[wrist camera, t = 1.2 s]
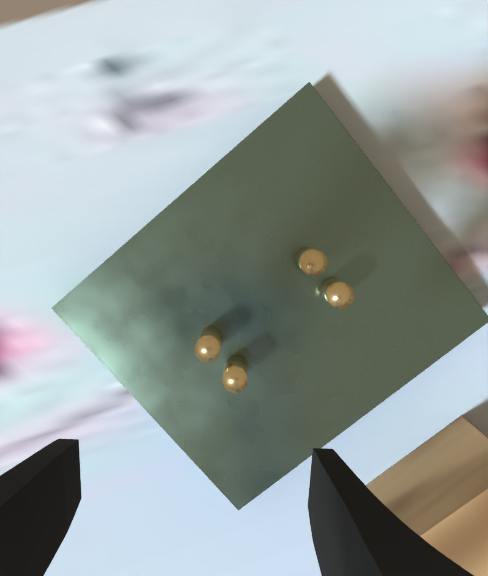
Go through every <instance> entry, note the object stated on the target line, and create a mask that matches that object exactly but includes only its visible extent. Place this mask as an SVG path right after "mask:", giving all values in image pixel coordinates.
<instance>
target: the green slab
mask: <svg viewBox="0 0 488 576" xmlns="http://www.w3.org/2000/svg"><path fill="white" fill-rule="evenodd" d="M52 309H53V310H54V312H55V313H56V314H57V315H58V316H59V317H60V318H61V319H62V320H63V321H64V322H65V323H66V324H67V326H68V327H69V328H70V329H71V330H72V331H73V332H74V333H75V334H76V335H77V336H78V337H79V339H80V340H81V341H82V342H83V343H84V344H85V345H86V346H87V347H88V348H89V349H90V350H91V351H92V353H93V354H94V355H95V356H96V357H97V358H98V359H99V360H100V361H101V362H102V363H103V364H104V366H105V367H106V368H107V369H108V370H109V371H110V372H111V373H112V374H113V375H114V376H115V377H116V378H117V380H118V381H119V382H120V383H121V384H122V385H123V386H124V387H125V388H126V389H127V390H128V391H129V393H130V394H131V395H132V396H133V397H134V398H135V399H136V400H137V401H138V402H139V403H140V404H141V406H142V407H143V408H144V409H145V410H146V411H147V412H148V413H149V414H150V415H151V416H152V417H153V418H154V420H155V421H156V422H157V423H158V424H159V425H160V426H161V427H162V428H163V429H164V430H165V431H166V433H167V434H168V435H169V436H170V437H171V438H172V439H173V440H174V441H175V442H176V443H177V444H178V445H179V447H180V448H181V449H182V450H183V451H184V452H185V453H186V454H187V455H188V456H189V457H190V458H191V460H192V461H193V462H194V463H195V464H196V465H197V466H198V467H199V468H200V469H201V470H202V471H203V472H204V474H205V475H206V476H207V477H208V478H209V479H210V480H211V481H212V482H213V483H214V484H215V485H216V487H217V488H218V489H219V490H220V491H221V492H222V493H223V494H224V495H225V496H226V497H227V498H228V499H229V501H230V502H231V503H232V504H233V505H234V506H235V507H236V508H237V509H238V510H239V509H241V508H242V507H243V506H245V505H246V504H247V503H249V502H250V501H251V500H253V499H254V498H255V497H257V496H258V495H259V494H261V493H262V492H263V491H265V490H266V489H267V488H269V487H270V486H271V485H273V484H274V483H275V482H277V481H278V480H279V479H281V478H282V477H283V476H285V475H286V474H287V473H289V472H290V471H291V470H293V469H294V468H295V467H297V466H298V465H299V464H301V463H302V462H303V461H304V460H306V459H307V458H308V457H310V456H311V455H312V453H313V448H322V447H323V446H324V445H326V444H327V443H328V442H330V441H331V440H332V439H334V438H335V437H336V436H338V435H339V434H340V433H342V432H343V431H344V430H346V429H347V428H348V427H350V426H351V425H352V424H354V423H355V422H356V421H358V420H359V419H360V418H362V417H363V416H364V415H366V414H367V413H368V412H370V411H371V410H372V409H373V408H375V407H376V406H377V405H379V404H380V403H381V402H383V401H384V400H385V399H387V398H388V397H389V396H391V395H392V394H393V393H395V392H396V391H397V390H399V389H400V388H401V387H403V386H404V385H405V384H407V383H408V382H409V381H411V380H412V379H413V378H415V377H416V376H417V375H419V374H420V373H421V372H423V371H424V370H425V369H427V368H428V367H429V366H431V365H432V364H433V363H435V362H436V361H437V360H438V359H440V358H441V357H442V356H444V355H445V354H446V353H448V352H449V351H450V350H452V349H453V348H454V347H456V346H457V345H458V344H460V343H461V342H462V341H464V340H465V339H466V338H468V337H469V336H470V335H472V334H473V333H474V332H476V331H477V330H478V329H480V328H481V327H482V326H484V325H485V324H486V323H488V315H487V314H486V313H485V311H484V310H483V309H482V307H481V306H480V305H479V303H478V302H477V301H476V299H475V298H474V297H473V296H472V294H471V293H470V292H469V290H468V289H467V288H466V286H465V285H464V284H463V282H462V281H461V280H460V279H459V277H458V276H457V275H456V273H455V272H454V271H453V269H452V268H451V267H450V265H449V264H448V263H447V261H446V260H445V259H444V258H443V256H442V255H441V254H440V252H439V251H438V250H437V248H436V247H435V246H434V244H433V243H432V242H431V241H430V239H429V238H428V237H427V235H426V234H425V233H424V231H423V230H422V229H421V227H420V226H419V225H418V224H417V222H416V221H415V220H414V218H413V217H412V216H411V214H410V213H409V212H408V210H407V209H406V208H405V207H404V205H403V204H402V203H401V201H400V200H399V199H398V197H397V196H396V195H395V193H394V192H393V191H392V189H391V188H390V187H389V186H388V184H387V183H386V182H385V180H384V179H383V178H382V176H381V175H380V174H379V172H378V171H377V170H376V169H375V167H374V166H373V165H372V163H371V162H370V161H369V159H368V158H367V157H366V155H365V154H364V153H363V152H362V150H361V149H360V148H359V146H358V145H357V144H356V142H355V141H354V140H353V138H352V137H351V136H350V134H349V133H348V132H347V131H346V129H345V128H344V127H343V125H342V124H341V123H340V121H339V120H338V119H337V117H336V116H335V115H334V114H333V112H332V111H331V110H330V108H329V107H328V106H327V104H326V103H325V102H324V100H323V99H322V98H321V97H320V95H319V94H318V93H317V91H316V90H315V89H314V87H313V86H312V85H311V83H310V82H309V83H307V84H306V85H305V86H304V87H303V88H302V89H301V90H299V91H298V92H297V93H296V94H295V95H294V96H293V97H292V98H290V99H289V100H288V101H287V102H286V103H285V104H284V105H282V106H281V107H280V108H279V109H278V110H277V111H276V112H274V113H273V114H272V115H271V116H270V117H269V118H268V119H266V120H265V121H264V122H263V123H262V124H261V125H260V126H258V127H257V128H256V129H255V130H254V131H253V132H252V133H251V134H249V135H248V136H247V137H246V138H245V139H244V140H243V141H241V142H240V143H239V144H238V145H237V146H236V147H235V148H233V149H232V150H231V151H230V152H229V153H228V154H227V155H225V156H224V157H223V158H222V159H221V160H220V161H219V162H217V163H216V164H215V165H214V166H213V167H212V168H211V169H210V170H208V171H207V172H206V173H205V174H204V175H203V176H202V177H200V178H199V179H198V180H197V181H196V182H195V183H194V184H192V185H191V186H190V187H189V188H188V189H187V190H186V191H184V192H183V193H182V194H181V195H180V196H179V197H178V198H176V199H175V200H174V201H173V202H172V203H171V204H170V205H169V206H167V207H166V208H165V209H164V210H163V211H162V212H161V213H159V214H158V215H157V216H156V217H155V218H154V219H153V220H151V221H150V222H149V223H148V224H147V225H146V226H145V227H143V228H142V229H141V230H140V231H139V232H138V233H137V234H136V235H134V236H133V237H132V238H131V239H130V240H129V241H128V242H126V243H125V244H124V245H123V246H122V247H121V248H120V249H118V250H117V251H116V252H115V253H114V254H113V255H112V256H110V257H109V258H108V259H107V260H106V261H105V262H104V263H102V264H101V265H100V266H99V267H98V268H97V269H96V270H95V271H93V272H92V273H91V274H90V275H89V276H88V277H87V278H85V279H84V280H83V281H82V282H81V283H80V284H79V285H77V286H76V287H75V288H74V289H73V290H72V291H71V292H69V293H68V294H67V295H66V296H65V297H64V298H63V299H61V300H60V301H59V302H58V303H57V304H56V305H55V306H54V307H52Z"/></svg>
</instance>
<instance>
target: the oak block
mask: <svg viewBox="0 0 488 576" xmlns="http://www.w3.org/2000/svg"><path fill="white" fill-rule="evenodd" d="M366 487H367V488H368V489H369V490H370V491H371V492H372V493H373V494H374V495H375V496H376V497H377V498H378V499H379V500H380V501H381V502H382V503H383V504H384V505H385V506H386V507H387V508H388V509H389V510H390V511H392V512H393V513H394V514H395V515H396V516H397V517H398V518H399V519H400V520H401V521H402V522H404V523H405V524H406V525H407V526H408V527H409V528H410V529H412V530H413V531H414V532H415V533H417V534H418V535H419V536H420V537H422V538H423V539H424V540H425V541H426V542H428V543H429V544H430V545H432V546H433V547H434V548H435V549H437V550H438V551H439V552H441V553H442V554H444V555H445V556H446V557H448V558H449V559H451V560H452V561H453V562H455V563H456V564H458V565H459V566H461V567H462V568H463V569H465V570H466V571H468V572H469V573H471V574H472V575H474V576H488V438H487V437H486V436H485V435H484V434H482V433H481V432H480V431H479V430H478V429H477V428H475V427H474V426H473V425H472V424H471V423H470V422H468V421H467V420H466V419H465V418H464V417H463V416H462V415H461V416H460V417H459V418H457V419H456V420H455V421H453V422H452V423H450V424H449V425H448V426H446V427H445V428H444V429H442V430H441V431H439V432H438V433H437V434H435V435H434V436H433V437H431V438H430V439H429V440H427V441H426V442H424V443H423V444H422V445H420V446H419V447H418V448H416V449H415V450H413V451H412V452H411V453H409V454H408V455H407V456H405V457H404V458H403V459H401V460H400V461H398V462H397V463H396V464H394V465H393V466H392V467H390V468H389V469H387V470H386V471H385V472H383V473H382V474H381V475H379V476H378V477H377V478H375V479H374V480H372V481H371V482H370V483H368V484H367V485H366Z"/></svg>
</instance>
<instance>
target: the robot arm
mask: <svg viewBox="0 0 488 576" xmlns="http://www.w3.org/2000/svg"><path fill="white" fill-rule="evenodd" d="M80 500H81V480H80V460H79V440H77V439H57V440H56V441H54V442H52V443H50V444H49V445H47V446H46V447H44V448H43V449H41V450H39V451H38V452H36V453H35V454H33V455H32V456H30V457H29V458H27V459H26V460H24V461H23V462H21V463H19V464H18V465H16V466H15V467H13V468H12V469H10V470H9V471H7V472H5V473H4V474H2V475H1V476H0V576H43V575H44V574H45V572H46V570H47V568H48V567H49V565H50V563H51V561H52V559H53V558H54V556H55V554H56V552H57V550H58V548H59V547H60V545H61V543H62V541H63V539H64V537H65V536H66V534H67V532H68V529H69V527H70V525H71V522H72V520H73V518H74V515H75V513H76V510H77V508H78V505H79V503H80ZM308 510H309V518H310V525H311V532H312V538H313V543H314V547H315V551H316V555H317V559H318V563H319V567H320V570H321V574H322V576H474V575H472V574H471V573H469V572H468V571H466V570H465V569H463V568H462V567H461V566H459V565H458V564H456V563H455V562H453V561H452V560H451V559H449V558H448V557H446V556H445V555H444V554H442V553H441V552H439V551H438V550H437V549H435V548H434V547H433V546H432V545H430V544H429V543H428V542H426V541H425V540H424V539H423V538H422V537H420V536H419V535H418V534H417V533H415V532H414V531H413V530H412V529H410V528H409V527H408V526H407V525H406V524H405V523H404V522H402V521H401V520H400V519H399V518H398V517H397V516H396V515H395V514H394V513H393V512H392V511H390V510H389V509H388V508H387V507H386V506H385V505H384V504H383V503H382V502H381V501H380V500H379V499H378V498H377V497H376V496H375V495H374V494H373V493H372V492H371V491H370V490H369V489H368V488H367V487H366V486H365V485H364V483H363V482H362V481H361V480H360V479H359V478H358V477H357V476H356V475H355V474H354V472H353V471H352V470H351V469H350V468H349V467H348V466H347V465H346V463H345V462H344V461H343V460H342V459H341V458H340V457H339V455H338V454H337V453H336V452H335V451H334V450H333V449H321V448H313V453H312V465H311V476H310V487H309V499H308Z"/></svg>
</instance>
